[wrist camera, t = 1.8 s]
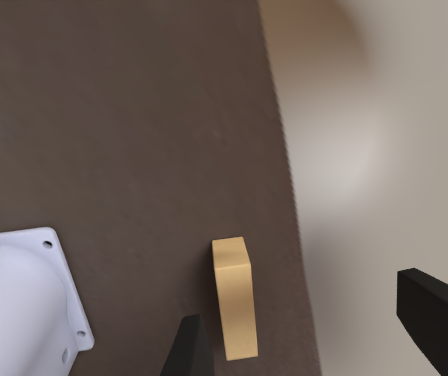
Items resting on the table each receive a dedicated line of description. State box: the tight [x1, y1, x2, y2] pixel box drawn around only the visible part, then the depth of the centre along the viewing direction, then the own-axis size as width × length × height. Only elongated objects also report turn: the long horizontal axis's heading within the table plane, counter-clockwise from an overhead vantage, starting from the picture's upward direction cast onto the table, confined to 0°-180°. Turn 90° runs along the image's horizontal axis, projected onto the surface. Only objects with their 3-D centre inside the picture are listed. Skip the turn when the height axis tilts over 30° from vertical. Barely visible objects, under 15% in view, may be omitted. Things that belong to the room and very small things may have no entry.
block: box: [212, 237, 258, 360], centre depth 18 cm, size 7×2×3 cm, turn 6°
